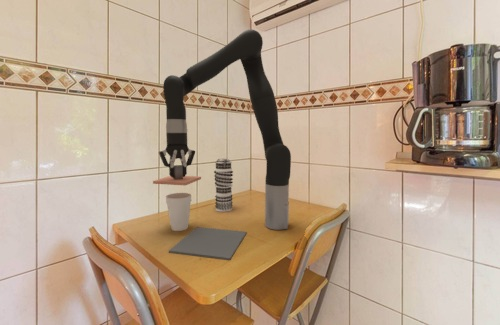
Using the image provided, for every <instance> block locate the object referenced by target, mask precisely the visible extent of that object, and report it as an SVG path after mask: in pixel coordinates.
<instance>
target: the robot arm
mask: <svg viewBox="0 0 500 325" xmlns="http://www.w3.org/2000/svg"><path fill="white" fill-rule="evenodd" d="M263 42H264V41H263V37H262V35H261V34H260V32H258V31H257V30H255V29H246V30H244V31H242V32H241V33H240V34H239V35H238V36H237V37H235V38H234V39H233V40H231V41H230V42H229V43H228V44H226V45H225V46H223V47H222V48H220V49H219V50H218V51H215V53H213V54H211V55H209V56H208V57H206V58H204V59H202V60H200V61H198V62H196V63H195V64H194V65H192V66H190V67H188V68H187V69H186V72H185V73H184V74H182V75H181V76H177V75H173V74H172V75H169V76H167V77H166V78H165V79H164V81H163V86H162V88H163V90H162V91H163V96H164V101H165V106H166V108H165V110H166V112H165V113H166V116H165V117H166V124H165V125H166V126H165V131H166V134H165V135H166V148H165V149H164V150H162V151H161V150H160V151H158V155H159V156H160V157H159V158H160V159H161V162H162V163H163V166H165V167H168V168H169V169H168V170H169V172H168V173H169V176H171V177H172V178H174V168H173V167H174V166H175V162H176V160H177V159H179V160H180V164H181V165H182V166H183V177H185V176H187V172H188V171H187V169H188V168H187V167H188V166H191V165H192V163H193V160H194V157H195V153H196V151H195V150H193V149H189V147H188V125H187V124H188V123H187V109H186V105H185V103H184V102H185V101H184V97H185V96H187V95H188V94H190V93H191V92H192V91H194V90H195V89H196V88H197V87H199V86H201V85H203V84H205V83H206V82H208V81H210V80H212V79H213V78H215V77H217V76H218V75H219V74H220V73H222V71H224V70H225V69H226V68H228V67H229V66H230V65H232V64H233V63H235V62H237V61H239V60H240V62H241V65H242V68H243V71H244V73H245V77H246V83H247V88H248V94H249V98H250V102H251V107H252V110H253V114H254V117H255V120H256V123H257V125H258V128H259V131H260V133H261V134H260V135H261V138H262V143H263V150H264V157H265V160H266V173H265V186H264V188H265V194H264V196H265V197H264V198H265V200H264V201H265V206H264V208H265V209H264V212H265V213H264V225H265V227H266V228H267V229H270V230H275V231H276V230H277V231H278V230H279V231H280V230H288V228H289V224H290V223H289V218H290V201H289V198H290V197H289V196H290V193H289V192H290V191H289V190H290V189H289V188H290V178H291V166H292V165H291V164H292V162H291V161H292V155H291V150H290V148H289V147H288V146H287V145H285V144H284V142H283V138H282V136H281V132H280V128H279V111H278V106H277V100H276V98H275V93H274V89H273V87H272V85H271V83H270V82H269V79H268V76H267V75H266V72H265V70H264V66H263V59H262V49H263V45H264V43H263ZM167 154H168V156H169V159H168V160H169V161H168V160H167V158H166V156H167ZM187 154H188V156H187V159H186V155H187Z"/></svg>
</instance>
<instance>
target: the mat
mask: <svg viewBox="0 0 500 325" xmlns="http://www.w3.org/2000/svg"><path fill="white" fill-rule="evenodd" d="M246 235H247V231H244V230H234V229H232V230H231V229H223V228H221V229H220V228H212V227H204V226H203V227H201V226H196V227H195V228H194V229H193V230H192V231H191V232H189V233H188V234H187V235H185V237H183V238H182V239H181V240H179V241H178V242H177V243H176V244H174V245H173V246H172V247H171V248H169V249H168V253H171V254H179V255H186V256H193V257H194V256H195V257H200V258H201V257H203V258H209V259H210V258H211V259H217V260H218V259H219V260H227V261H230V260H232V257H233V256H234V254H235V253H236V251H237V250H238V248H239V247H240V245H241V243H242V242H243V239H244V238H245V237H246Z"/></svg>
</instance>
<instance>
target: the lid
mask: <svg viewBox="0 0 500 325" xmlns="http://www.w3.org/2000/svg"><path fill="white" fill-rule="evenodd" d="M173 168H174V178H172V177H171V176H170V175H169V176H166V177H162V178H158V179H155V180H152V184H155V185H168V186H169V185H171V186H172V185H173V186H188V185H191V184H192V183H195V182H197V181H200V180H202V176H196V175H195V176H194V175H185V177H183V166H182V164H181V165H177V164H176V165H175V164H174V167H173Z"/></svg>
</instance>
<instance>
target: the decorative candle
mask: <svg viewBox="0 0 500 325" xmlns="http://www.w3.org/2000/svg"><path fill="white" fill-rule="evenodd" d="M213 173H214V175H213V176H214V181H215V182H214V184H215V186H214V187H215V196H214V197H215V198H214V199H215V203H214V204H215V206H214V207H215V211H217V212H221V213H225V212H230V211H232V210H233V194H232V187H233V183H234V182H233V180H234V179H233V178H232V177H233V176H234V174H233V173H234V171H233V170H232V161H231V160H230V158H218V159H217V160H216V161H215V170H214V171H213Z"/></svg>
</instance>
